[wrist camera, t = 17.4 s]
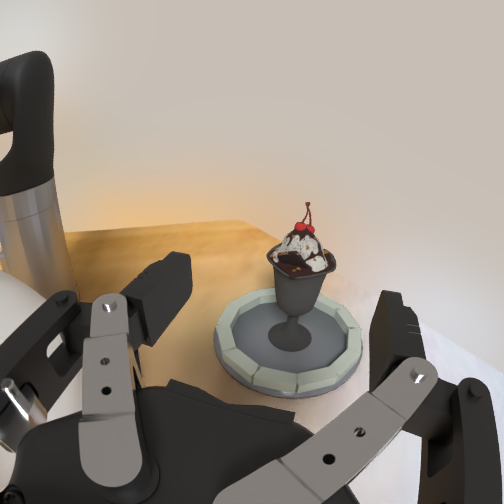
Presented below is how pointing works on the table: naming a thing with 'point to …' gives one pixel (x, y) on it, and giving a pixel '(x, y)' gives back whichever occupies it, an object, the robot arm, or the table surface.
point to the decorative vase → (10, 318)
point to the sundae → (297, 283)
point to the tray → (283, 362)
